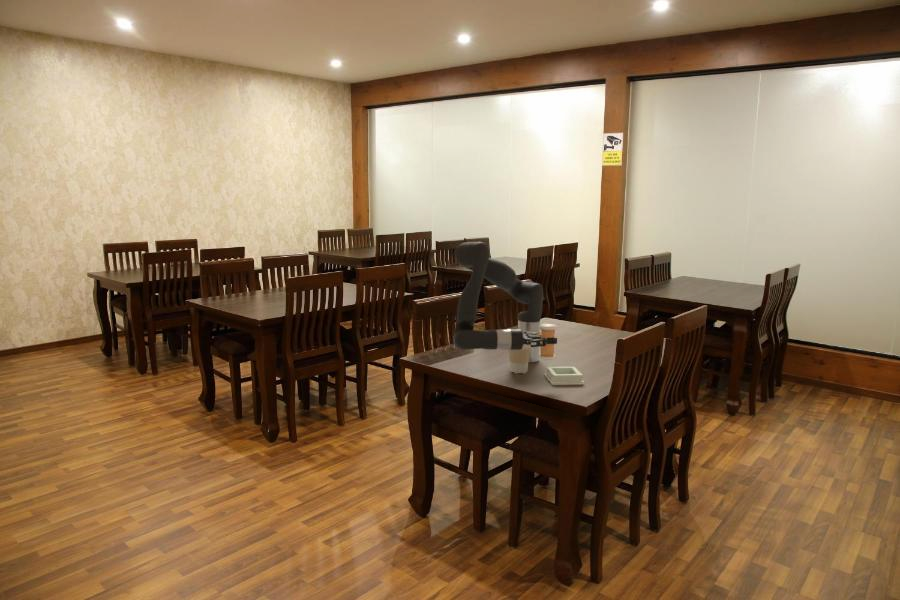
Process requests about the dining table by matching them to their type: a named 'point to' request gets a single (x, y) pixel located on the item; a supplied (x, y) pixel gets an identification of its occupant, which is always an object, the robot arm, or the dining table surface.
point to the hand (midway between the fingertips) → (554, 338)
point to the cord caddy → (564, 376)
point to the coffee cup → (519, 359)
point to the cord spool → (547, 350)
